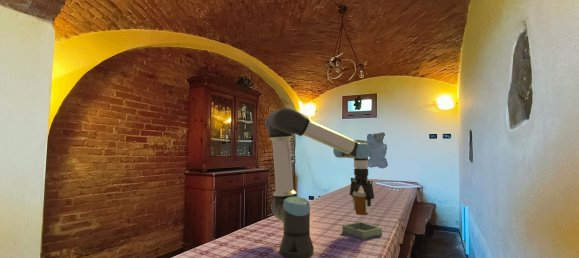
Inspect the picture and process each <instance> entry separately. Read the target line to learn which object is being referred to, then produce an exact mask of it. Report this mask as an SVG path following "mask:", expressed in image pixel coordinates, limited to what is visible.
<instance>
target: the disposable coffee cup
mask: <svg viewBox="0 0 579 258" xmlns="http://www.w3.org/2000/svg"><path fill="white" fill-rule="evenodd" d="M353 196H354V203H355V215H357V216H368V215H369V212H368V213H366V206H365V200H366V193H364V189H359V191H353Z"/></svg>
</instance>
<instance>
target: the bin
mask: <svg viewBox="0 0 579 258" xmlns="http://www.w3.org/2000/svg"><path fill="white" fill-rule="evenodd" d="M341 229H342V230H341V231H342V234H345V235H347V236H351V237H353V238H356V239H359V240H361V241H366V240H370V239H373V238H378V237H382V236H383V228H382V227H380V226H376V225H373V224H369V223H366V222H363V221H357V222H353V223H348V224H347V223H346V224H342V228H341Z"/></svg>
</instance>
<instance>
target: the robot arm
mask: <svg viewBox="0 0 579 258" xmlns="http://www.w3.org/2000/svg"><path fill="white" fill-rule="evenodd" d="M265 119H266V120H265V127H266V130H267V131H268V138H269V140H270V141H271V142H272V154H273V155H272V156H273V169H274V184H275V185H274V186H275V191H273V193H272V199H273V200H272V201H271V205H270V208H271V212H272V214H273V215H274V217H275V218H276V219H278V221H279V220H280V221H281V222H282V223H283V228H282V230H283V235H282V238H281V242H280V244H279V250H278V251H279V255H281V256H282V257H283V258H311V257H312V256H314V252H315V250H314V244H313V241H312V239H311V235H310V227H311V222H310V221H311V217H310V215H311V213H310V212H311V207H310V202H309V200H308V199H306V198H304V197H300V196H298V195H297V191H296V190H295V189H294V181H293V180H294V179H293V168H292V166H293V165H292V153H291V139H292V138H293V135H297V136H299V137H303V136H305V137H307V138H309V139H312V140H314V141H316V142H318V143H321V144H323V145H325V146H328V147H330V148H333V149H332V150H333V151H332V152H333V155H334V157H335V158H339V159H343V158H344V159H345V158H348V159H353V168H354V169H353V175H354V177H350V189H349V196H351V197H352V203H353V209H352V210H355V203H354V196H353V191H359V190H360V188H362V190H364V193H366V200H365V206H366V213H368V214H369V213H371V207H372V200H374V199H375V195H374V188H373V179H369V177H368V176H369V169H368V168H369V156H370V155H371V147H370V145H369V144H368V140H366V139H352V138H350V137H348V136H346V135H344V134H341V133H339V132H336V131H335V130H332V129H331V128H328V127H325V126H324V125H322V124H319V123H317V122H315V121H313V120H311V118H310V116H308V115H305V114H303V113H301V112H299V111H297V110H295V109H292V108H288V107H284V108H280V109H277V110H274V111H272V112H270V114H268V115H267V116H266V118H265Z"/></svg>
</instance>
